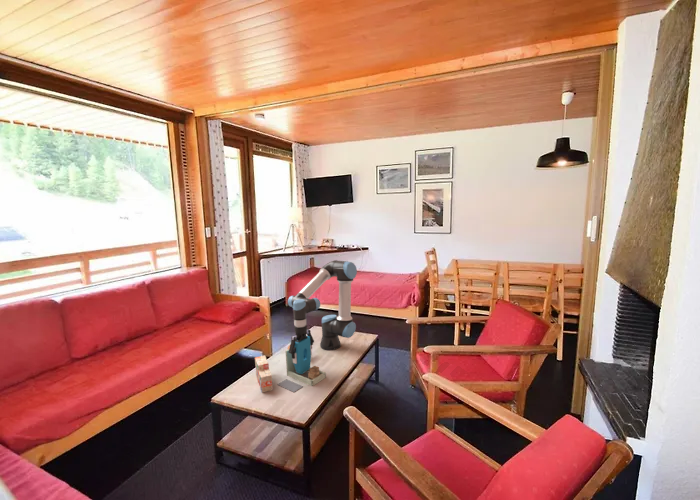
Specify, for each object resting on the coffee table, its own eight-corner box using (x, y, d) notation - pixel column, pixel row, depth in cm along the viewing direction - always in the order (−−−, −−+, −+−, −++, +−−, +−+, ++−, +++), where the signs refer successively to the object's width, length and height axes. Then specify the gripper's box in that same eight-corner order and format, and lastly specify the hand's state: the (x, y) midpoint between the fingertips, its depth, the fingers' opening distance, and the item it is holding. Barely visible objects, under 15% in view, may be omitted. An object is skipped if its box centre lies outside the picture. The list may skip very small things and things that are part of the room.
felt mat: (286, 379, 194) (286, 379, 194) (302, 386, 186) (302, 386, 186) (277, 384, 189) (277, 384, 189) (294, 392, 180) (293, 391, 180)
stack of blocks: (272, 390, 183) (271, 370, 182) (261, 393, 181) (260, 372, 179) (266, 373, 203) (264, 354, 201) (256, 375, 200) (254, 357, 199)
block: (300, 375, 193) (298, 344, 190) (293, 373, 195) (291, 342, 192) (312, 366, 203) (310, 336, 200) (306, 364, 205) (304, 335, 203)
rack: (300, 367, 209) (299, 344, 207) (325, 377, 196) (324, 352, 194) (286, 375, 199) (285, 350, 197) (312, 386, 186) (310, 360, 184)
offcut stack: (315, 376, 197) (314, 364, 196) (320, 378, 194) (320, 366, 193) (308, 380, 192) (307, 369, 191) (313, 383, 189) (313, 371, 188)
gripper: (310, 318, 207) (311, 349, 210) (280, 330, 188) (283, 365, 191) (318, 320, 202) (320, 352, 205) (289, 333, 183) (292, 368, 186)
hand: (302, 358), depth 198 cm, fingers closed on block, 12 cm apart
